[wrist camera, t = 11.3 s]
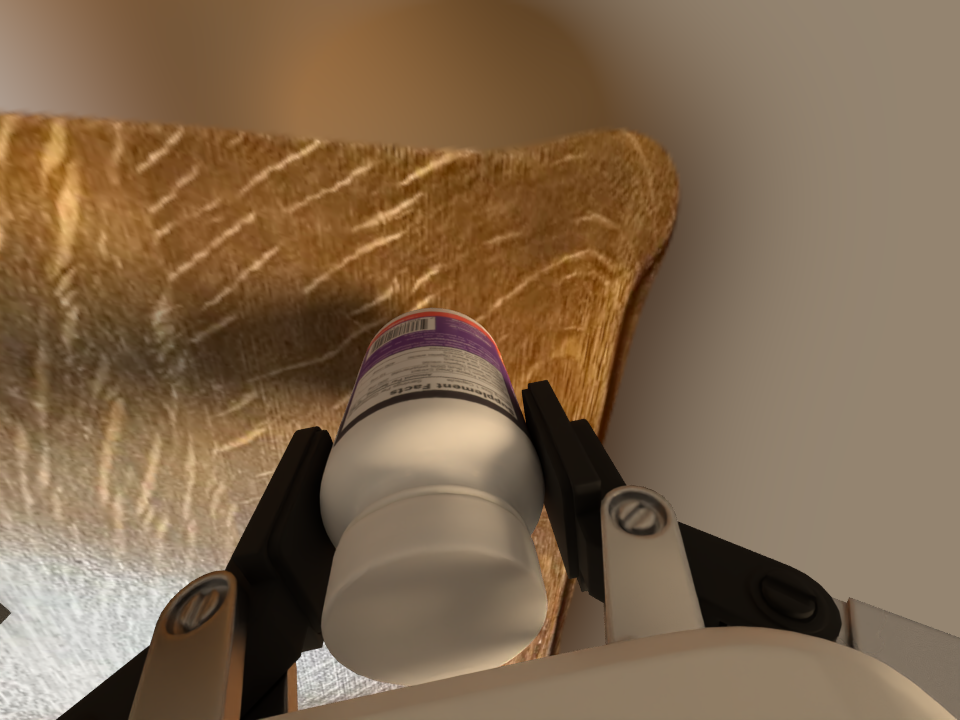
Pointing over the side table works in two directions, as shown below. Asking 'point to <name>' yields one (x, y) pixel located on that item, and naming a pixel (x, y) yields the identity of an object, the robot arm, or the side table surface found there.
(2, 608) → the black base plate
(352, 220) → the side table surface
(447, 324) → the pill bottle
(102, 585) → the side table surface
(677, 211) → the side table surface
